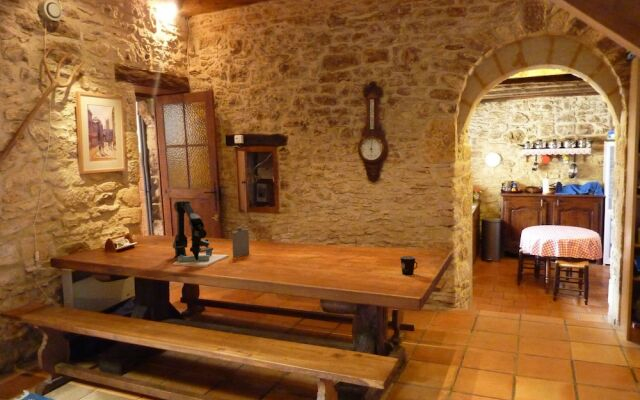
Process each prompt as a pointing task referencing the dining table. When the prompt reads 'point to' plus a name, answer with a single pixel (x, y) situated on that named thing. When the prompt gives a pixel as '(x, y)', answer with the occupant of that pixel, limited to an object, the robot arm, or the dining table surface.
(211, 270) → the dining table surface
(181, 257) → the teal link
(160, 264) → the dining table surface
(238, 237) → the hip flask
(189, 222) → the robot arm
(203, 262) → the cream base plate
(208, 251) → the iron keeper
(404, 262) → the coffee mug
